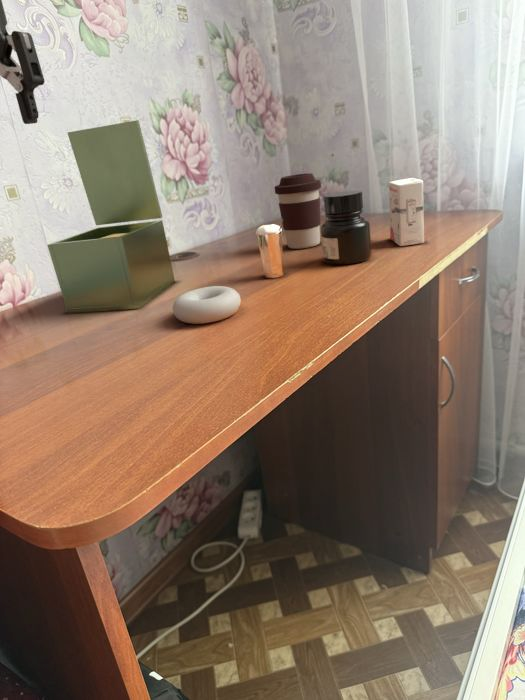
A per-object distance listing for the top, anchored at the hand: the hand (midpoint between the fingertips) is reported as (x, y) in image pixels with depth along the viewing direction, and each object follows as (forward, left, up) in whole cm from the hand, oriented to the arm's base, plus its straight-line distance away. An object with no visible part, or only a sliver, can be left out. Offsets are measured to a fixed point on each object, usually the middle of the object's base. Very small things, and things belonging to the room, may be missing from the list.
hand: (4, 125), depth 69 cm
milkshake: (+31, +20, -29) cm, 47 cm away
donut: (+25, 0, -29) cm, 38 cm away
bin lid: (+4, +20, -9) cm, 22 cm away
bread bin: (+4, +13, -29) cm, 32 cm away
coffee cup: (+32, +45, -29) cm, 63 cm away
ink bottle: (+43, +28, -29) cm, 59 cm away
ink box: (+54, +40, -29) cm, 73 cm away
